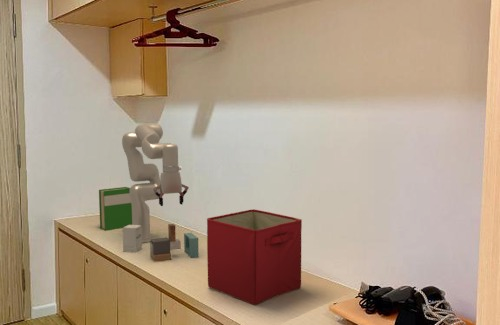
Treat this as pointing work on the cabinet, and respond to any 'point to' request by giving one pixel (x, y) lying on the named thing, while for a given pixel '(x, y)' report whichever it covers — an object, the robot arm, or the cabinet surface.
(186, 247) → the socket
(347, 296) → the cabinet surface
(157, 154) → the robot arm
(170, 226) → the multicoloured piece
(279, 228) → the storage cube
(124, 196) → the hardback book
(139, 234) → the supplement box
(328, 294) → the cabinet surface
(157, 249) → the grey block with backplate
